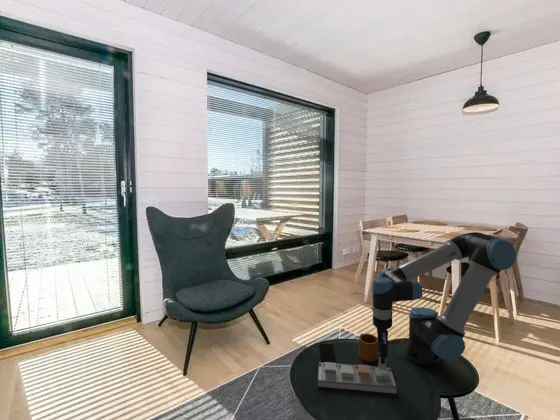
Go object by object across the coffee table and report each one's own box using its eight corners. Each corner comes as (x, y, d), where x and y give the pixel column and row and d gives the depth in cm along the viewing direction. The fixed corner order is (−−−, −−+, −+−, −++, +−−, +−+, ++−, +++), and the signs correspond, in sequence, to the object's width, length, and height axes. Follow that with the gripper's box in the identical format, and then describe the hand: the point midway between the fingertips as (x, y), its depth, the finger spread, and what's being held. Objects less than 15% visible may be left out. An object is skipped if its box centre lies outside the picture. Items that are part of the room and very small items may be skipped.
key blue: (335, 367, 133) (335, 362, 132) (336, 374, 128) (336, 370, 128) (324, 366, 134) (324, 361, 133) (324, 373, 129) (324, 369, 129)
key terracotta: (369, 369, 130) (369, 365, 130) (370, 377, 126) (370, 372, 125) (357, 368, 131) (357, 364, 131) (358, 376, 127) (358, 371, 126)
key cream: (352, 370, 132) (352, 366, 131) (353, 377, 127) (353, 373, 127) (341, 369, 133) (341, 365, 132) (341, 376, 128) (341, 372, 128)
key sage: (386, 373, 129) (386, 368, 129) (388, 380, 125) (388, 376, 124) (374, 372, 130) (374, 367, 130) (376, 379, 126) (376, 375, 125)
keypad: (390, 373, 133) (390, 367, 132) (396, 393, 121) (396, 387, 121) (319, 367, 138) (319, 361, 138) (318, 386, 126) (317, 380, 126)
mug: (371, 346, 153) (372, 329, 152) (380, 361, 141) (381, 343, 140) (354, 346, 153) (354, 330, 151) (361, 362, 141) (362, 344, 140)
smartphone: (320, 362, 141) (318, 343, 156) (320, 364, 141) (318, 345, 156) (336, 363, 140) (333, 343, 155) (336, 364, 141) (333, 345, 155)
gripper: (370, 308, 131) (371, 358, 134) (375, 323, 118) (375, 379, 121) (389, 308, 129) (388, 359, 133) (395, 324, 117) (394, 380, 120)
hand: (382, 368), depth 127 cm, fingers closed
